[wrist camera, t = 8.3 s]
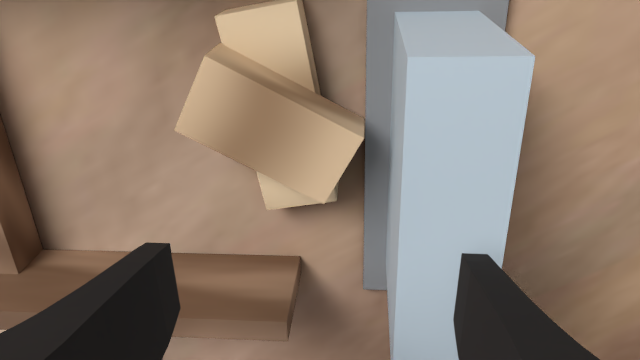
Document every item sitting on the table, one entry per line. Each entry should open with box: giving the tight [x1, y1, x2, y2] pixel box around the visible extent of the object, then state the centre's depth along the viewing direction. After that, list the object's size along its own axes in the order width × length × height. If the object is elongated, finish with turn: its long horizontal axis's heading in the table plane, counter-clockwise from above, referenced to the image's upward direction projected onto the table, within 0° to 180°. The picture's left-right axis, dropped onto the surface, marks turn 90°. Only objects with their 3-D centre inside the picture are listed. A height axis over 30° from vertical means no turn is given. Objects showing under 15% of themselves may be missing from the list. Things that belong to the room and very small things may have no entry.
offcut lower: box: [214, 0, 338, 210], centre depth 21 cm, size 8×3×2 cm, turn 11°
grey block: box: [363, 0, 509, 290], centre depth 21 cm, size 14×5×1 cm, turn 2°
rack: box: [0, 116, 301, 341], centre depth 20 cm, size 17×14×4 cm
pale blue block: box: [386, 11, 535, 360], centre depth 18 cm, size 11×3×7 cm, turn 2°
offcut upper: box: [174, 43, 364, 204], centre depth 19 cm, size 6×3×2 cm, turn 63°
